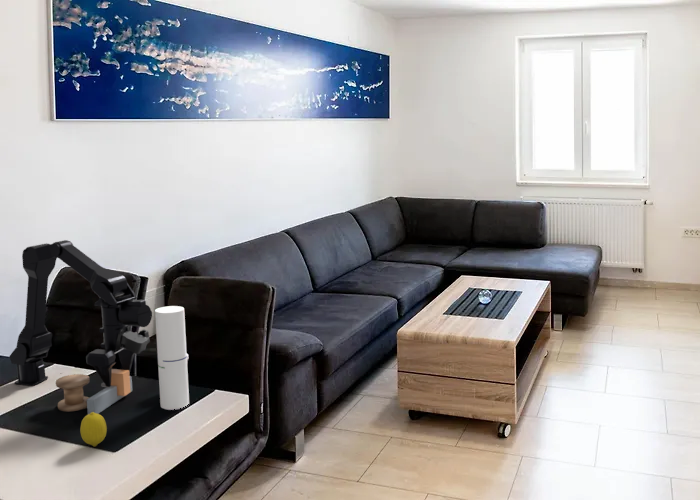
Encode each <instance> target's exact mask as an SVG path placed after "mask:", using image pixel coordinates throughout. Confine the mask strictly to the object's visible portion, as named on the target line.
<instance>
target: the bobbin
mask: <svg viewBox="0 0 700 500" xmlns="http://www.w3.org/2000/svg"><path fill="white" fill-rule="evenodd" d="M89 383H90V376H89V375H87V374H83V373H82V374H79V373H78V374H76V373H75V374H68V375H64V376H62V377H59V378H57V379H56V380H55V386H56V388H58V389H61V390H62V389H63V399H62V400H59V401H58V402H57V409H58V411H61V412H76V411H82V410H86V409H87V399H89V398H90V397H88V396H85V395H84V386H87V385H88V384H89Z"/></svg>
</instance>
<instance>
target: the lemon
mask: <svg viewBox="0 0 700 500" xmlns="http://www.w3.org/2000/svg"><path fill="white" fill-rule="evenodd" d="M107 429H108V427H107V422H106V420H105V418H104V416H102V415H101V414H100V413H98V414H97V413H94V412H91V413H90V414H88V413H87V414H86V415H85V416H84V417H83V419H82V420H81V423H80V431H79V432H80V437H81V438H82V440H83V442H84V443H85V444H88V445H91V446H93V447H97V446H98V444H100V443H101V442H103V441H104V440H105V437H106V436H107V431H108V430H107Z"/></svg>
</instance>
